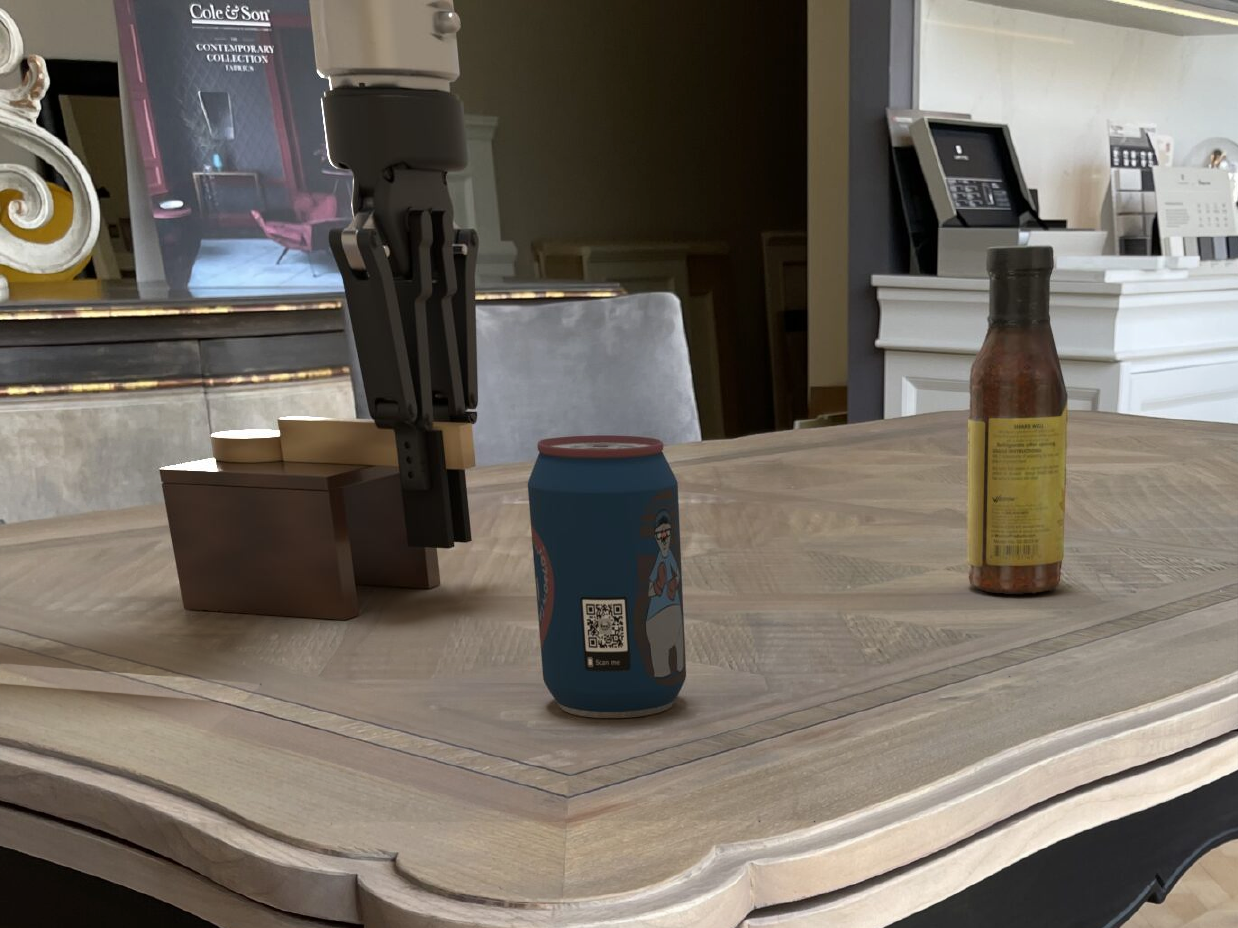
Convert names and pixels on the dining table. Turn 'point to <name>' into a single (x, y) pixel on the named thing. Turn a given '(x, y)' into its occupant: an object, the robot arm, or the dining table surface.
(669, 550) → the soda can
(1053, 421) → the sauce bottle
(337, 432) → the wooden stepped block
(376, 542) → the shelf
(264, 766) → the dining table surface
